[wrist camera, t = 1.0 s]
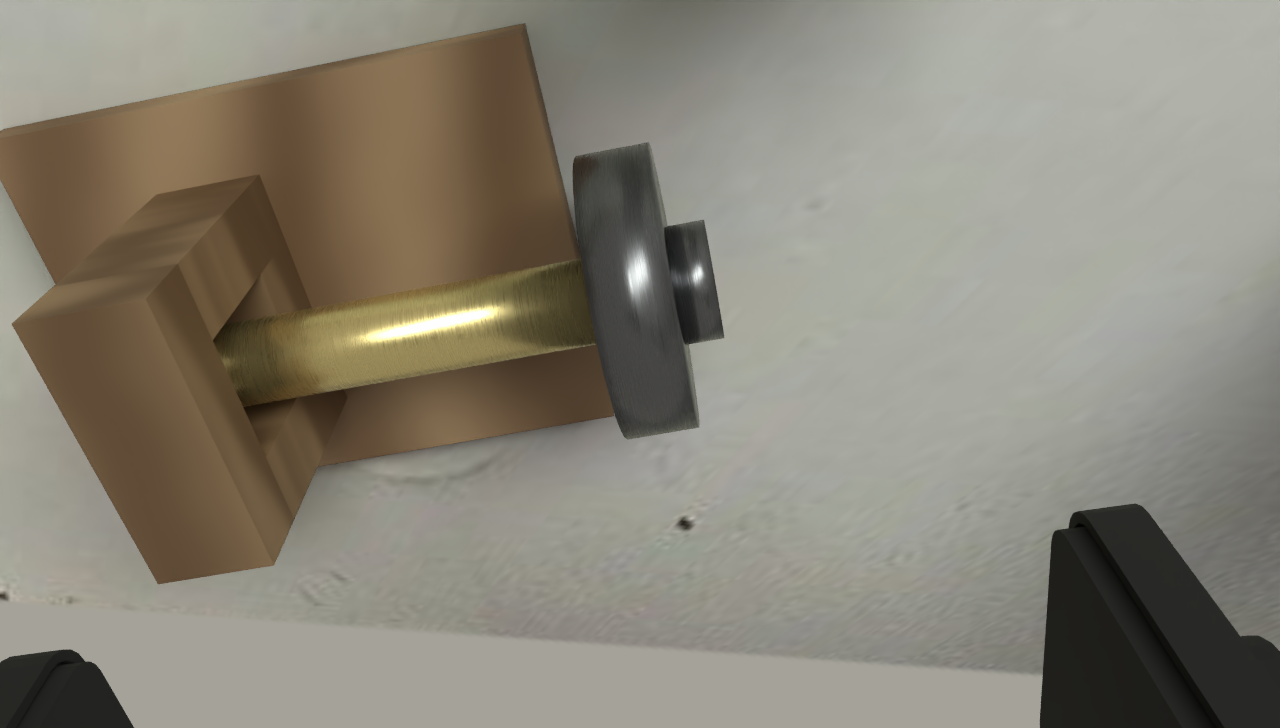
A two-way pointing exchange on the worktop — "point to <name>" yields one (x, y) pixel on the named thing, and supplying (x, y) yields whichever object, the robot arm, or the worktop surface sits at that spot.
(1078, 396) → the worktop surface
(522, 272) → the brass peg with disc
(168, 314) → the eye post
